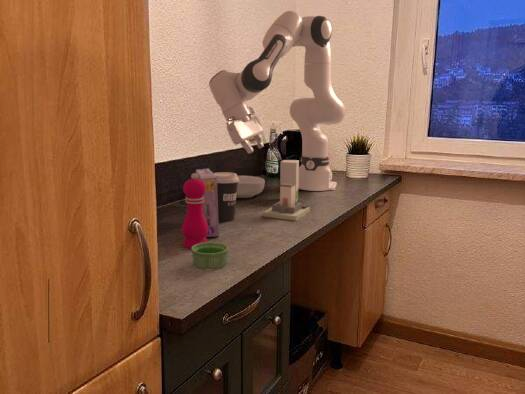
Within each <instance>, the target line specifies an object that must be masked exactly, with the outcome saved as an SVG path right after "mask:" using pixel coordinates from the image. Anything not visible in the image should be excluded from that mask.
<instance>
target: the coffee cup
mask: <svg viewBox="0 0 525 394" xmlns="http://www.w3.org/2000/svg"><path fill="white" fill-rule="evenodd" d="M213 174H214V176H215V177H216V178H217V194H218V221H219V222H231V221H234V220H235V217H236V216H235V214H236V204H237V203H236V202H237V197H236V195H237V185H238V182H239V178H238V177H237V176H238V174H237V173H236V172H230V171H229V172H228V171H227V172H226V171H225V172H224V171H221V172H219V171H218V172H213Z"/></svg>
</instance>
